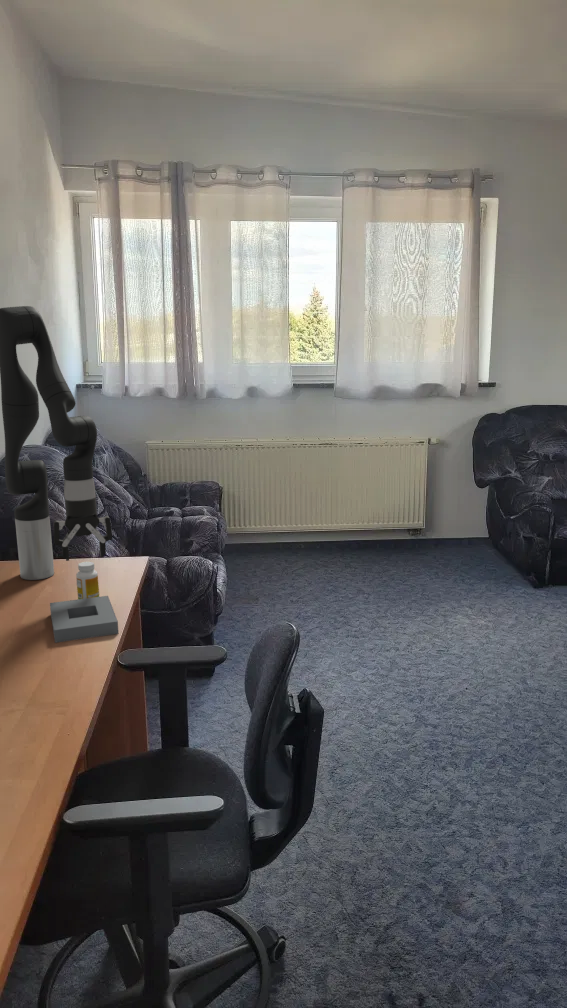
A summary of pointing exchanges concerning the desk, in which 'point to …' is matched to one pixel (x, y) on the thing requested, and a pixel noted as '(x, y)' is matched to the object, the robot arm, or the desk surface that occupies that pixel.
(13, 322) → the robot arm
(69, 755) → the desk surface
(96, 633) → the socket holder
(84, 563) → the supplement bottle
